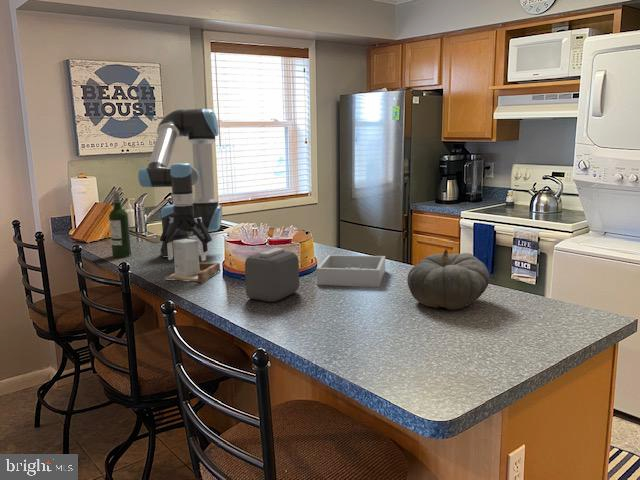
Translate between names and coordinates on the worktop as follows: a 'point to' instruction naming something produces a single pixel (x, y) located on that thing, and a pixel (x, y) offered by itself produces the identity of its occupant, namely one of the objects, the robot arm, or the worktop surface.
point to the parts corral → (351, 270)
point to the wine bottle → (119, 229)
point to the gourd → (448, 280)
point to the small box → (186, 257)
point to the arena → (204, 274)
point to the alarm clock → (271, 275)
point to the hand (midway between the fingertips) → (187, 259)
